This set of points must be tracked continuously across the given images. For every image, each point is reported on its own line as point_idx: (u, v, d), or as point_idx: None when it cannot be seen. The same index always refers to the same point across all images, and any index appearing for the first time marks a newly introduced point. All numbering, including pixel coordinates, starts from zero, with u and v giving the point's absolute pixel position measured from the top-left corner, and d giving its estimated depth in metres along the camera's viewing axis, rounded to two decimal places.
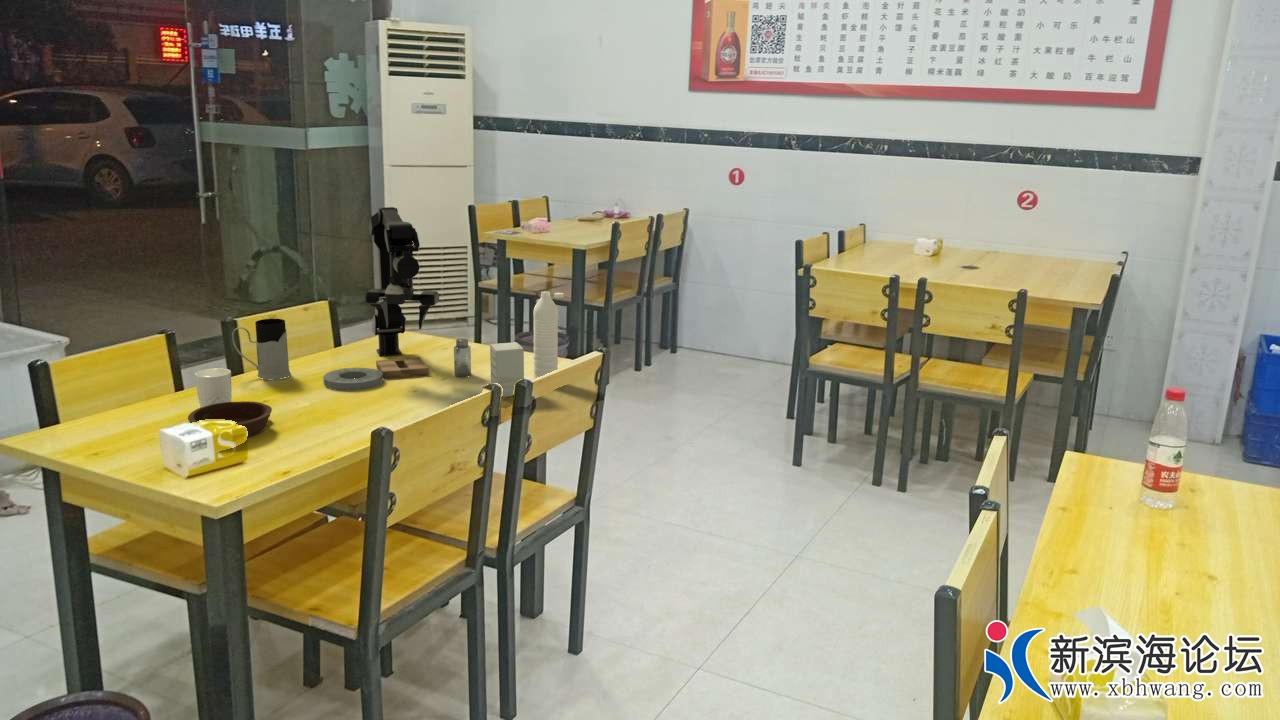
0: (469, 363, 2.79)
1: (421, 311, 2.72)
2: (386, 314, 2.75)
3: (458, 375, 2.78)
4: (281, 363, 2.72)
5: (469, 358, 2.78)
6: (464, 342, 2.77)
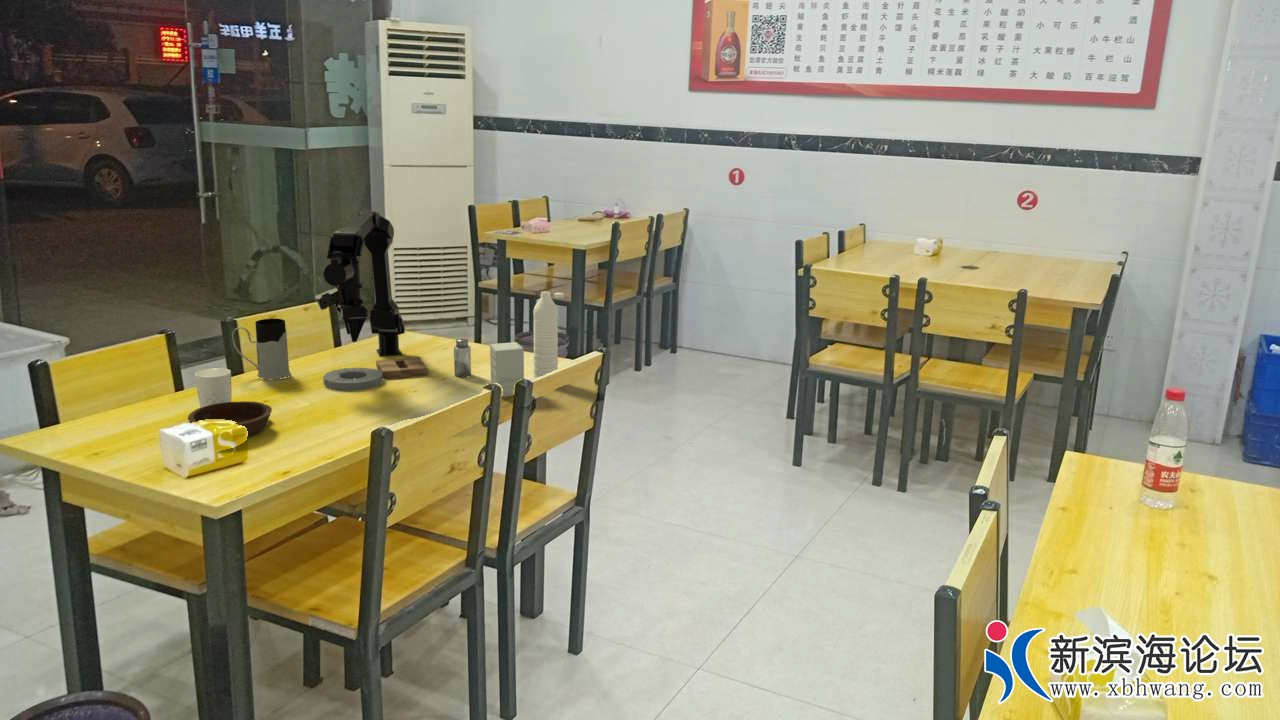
0: (469, 363, 2.79)
1: (347, 323, 2.61)
2: None
3: (458, 375, 2.78)
4: (281, 363, 2.72)
5: (469, 358, 2.78)
6: (464, 342, 2.77)
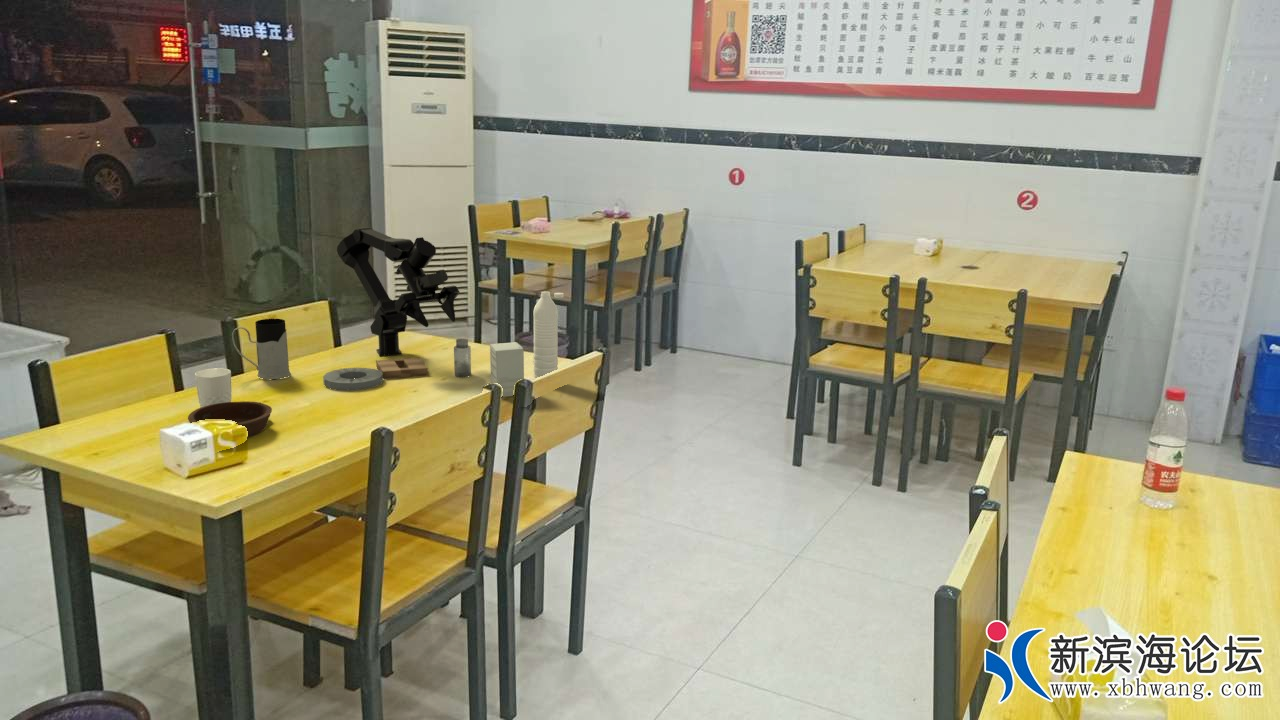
0: (469, 363, 2.79)
1: (450, 302, 2.86)
2: None
3: (458, 375, 2.78)
4: (281, 363, 2.72)
5: (469, 358, 2.78)
6: (464, 342, 2.77)
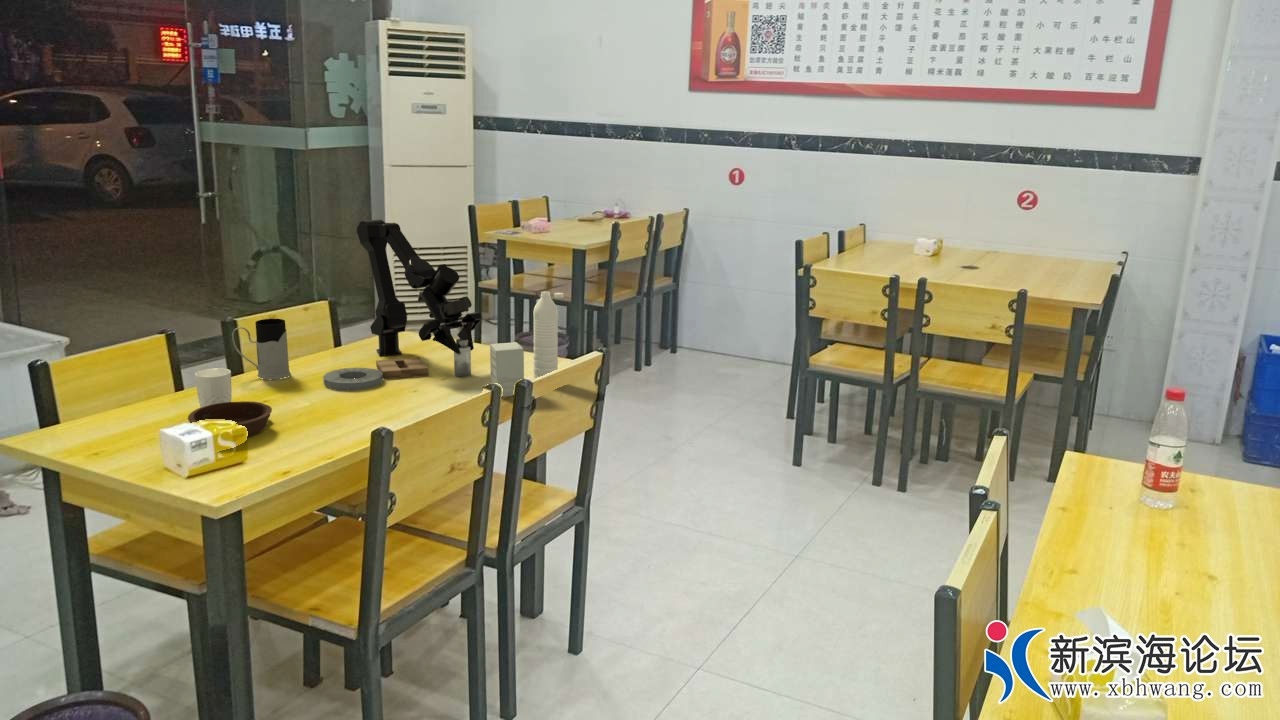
0: (469, 363, 2.79)
1: (468, 330, 2.81)
2: None
3: (458, 375, 2.78)
4: (281, 363, 2.72)
5: (469, 358, 2.78)
6: (464, 342, 2.77)
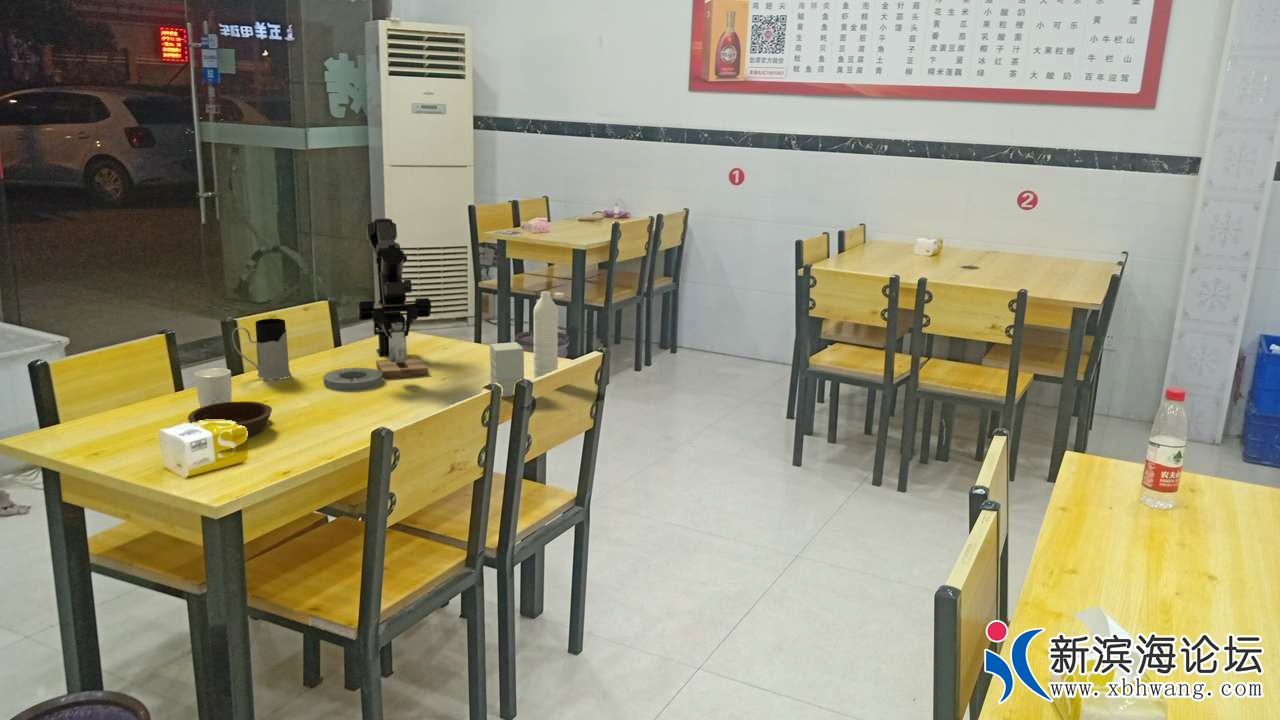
0: (401, 349, 2.69)
1: (408, 315, 2.70)
2: None
3: (390, 359, 2.70)
4: (281, 363, 2.72)
5: (401, 343, 2.68)
6: (395, 326, 2.67)
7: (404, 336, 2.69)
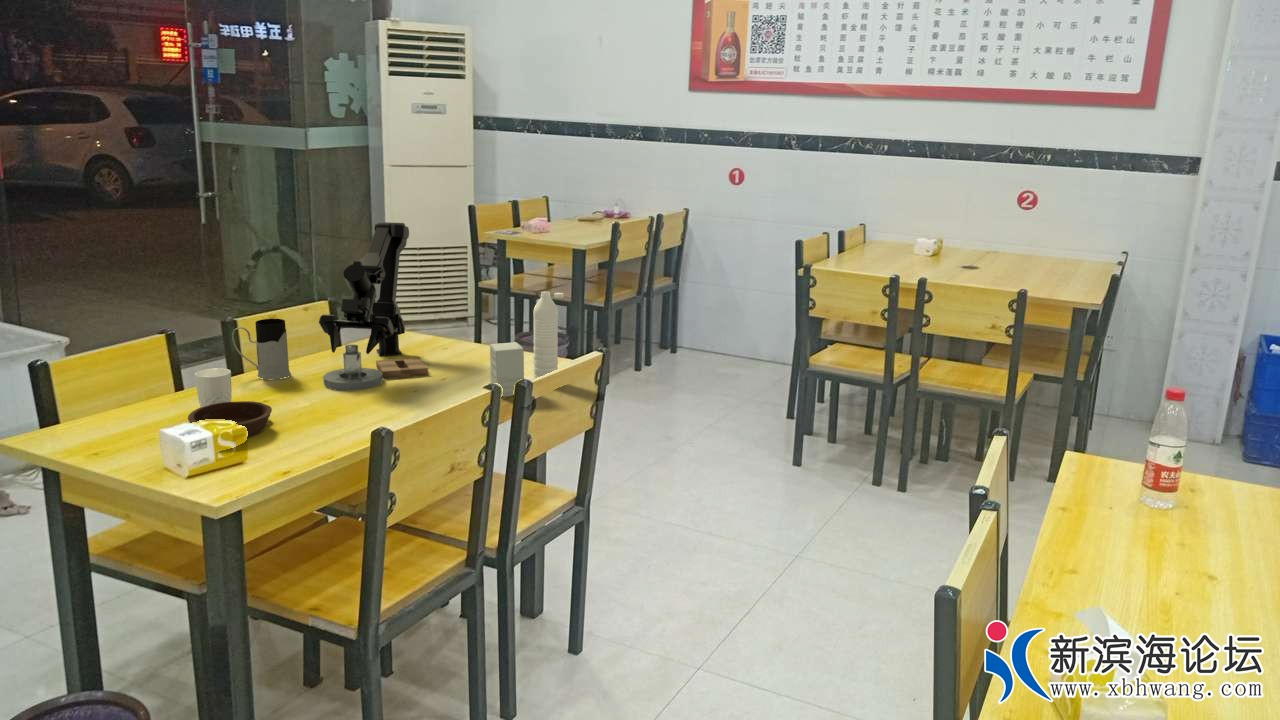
0: (352, 371, 2.68)
1: (372, 333, 2.69)
2: (336, 341, 2.70)
3: None
4: (281, 363, 2.72)
5: (352, 366, 2.68)
6: (348, 348, 2.67)
7: (356, 359, 2.68)
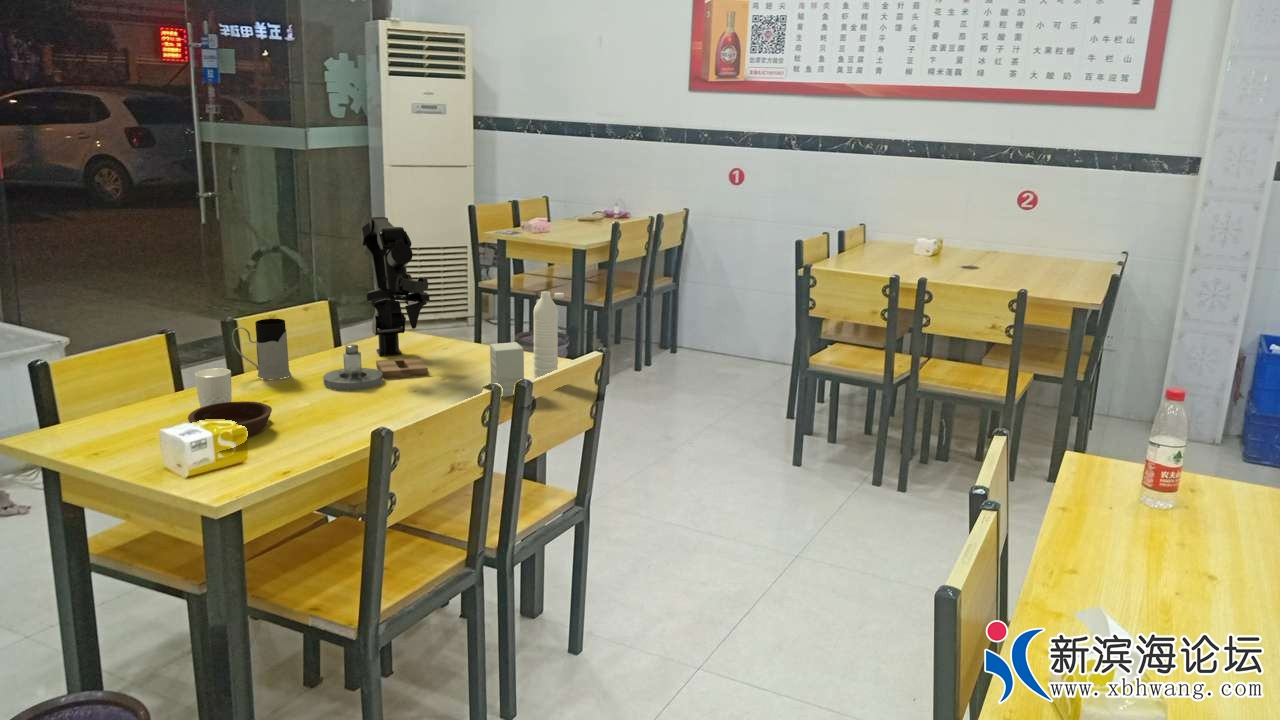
0: (352, 371, 2.68)
1: (418, 309, 2.85)
2: None
3: None
4: (281, 363, 2.72)
5: (352, 366, 2.68)
6: (348, 348, 2.67)
7: (356, 359, 2.68)
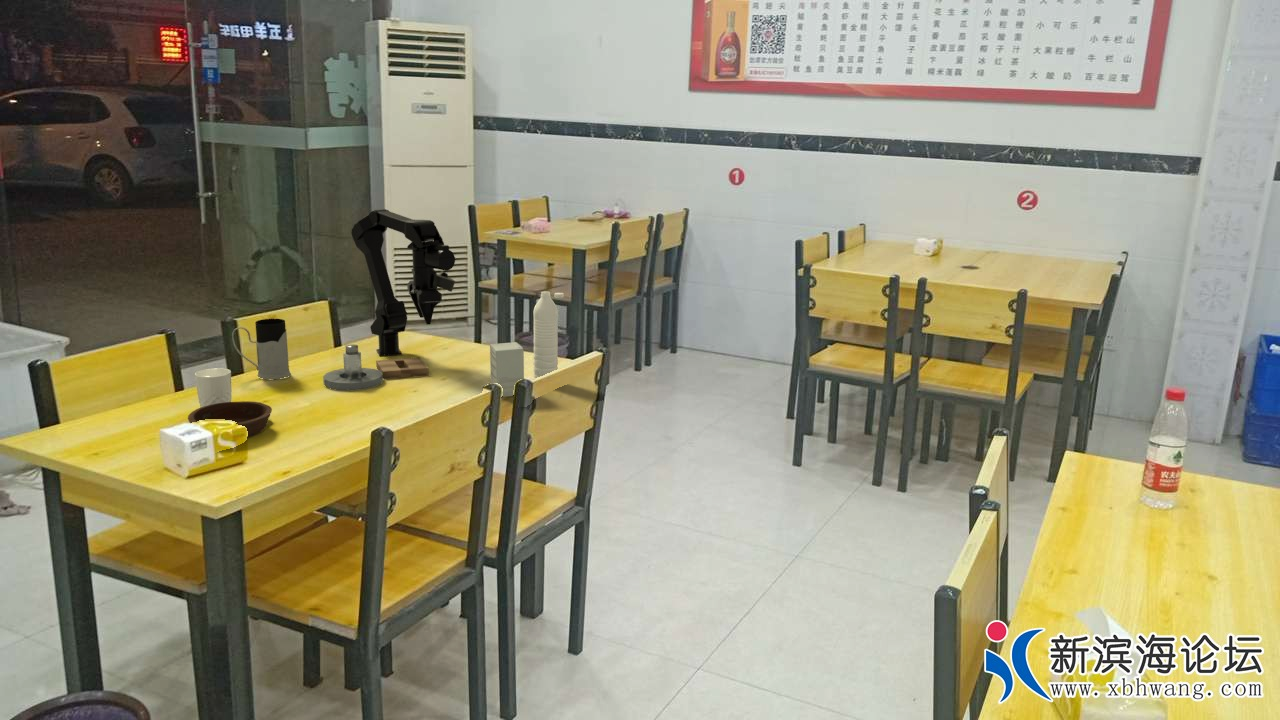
0: (352, 371, 2.68)
1: None
2: None
3: None
4: (281, 363, 2.72)
5: (352, 366, 2.68)
6: (348, 348, 2.67)
7: (356, 359, 2.68)
